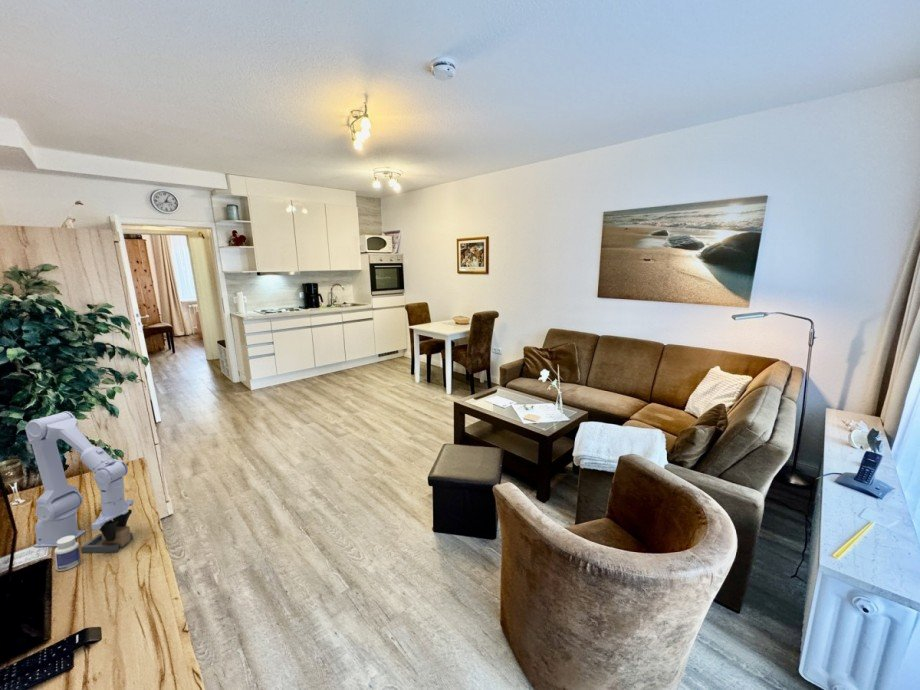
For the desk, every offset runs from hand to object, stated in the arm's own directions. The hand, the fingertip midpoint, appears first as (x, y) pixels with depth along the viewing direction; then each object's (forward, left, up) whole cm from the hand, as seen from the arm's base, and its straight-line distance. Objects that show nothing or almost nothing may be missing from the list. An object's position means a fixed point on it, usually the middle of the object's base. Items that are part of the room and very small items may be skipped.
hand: (115, 536), depth 125 cm
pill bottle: (-7, -9, -4) cm, 12 cm away
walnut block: (0, 0, -2) cm, 3 cm away
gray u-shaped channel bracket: (-3, 0, -3) cm, 4 cm away
